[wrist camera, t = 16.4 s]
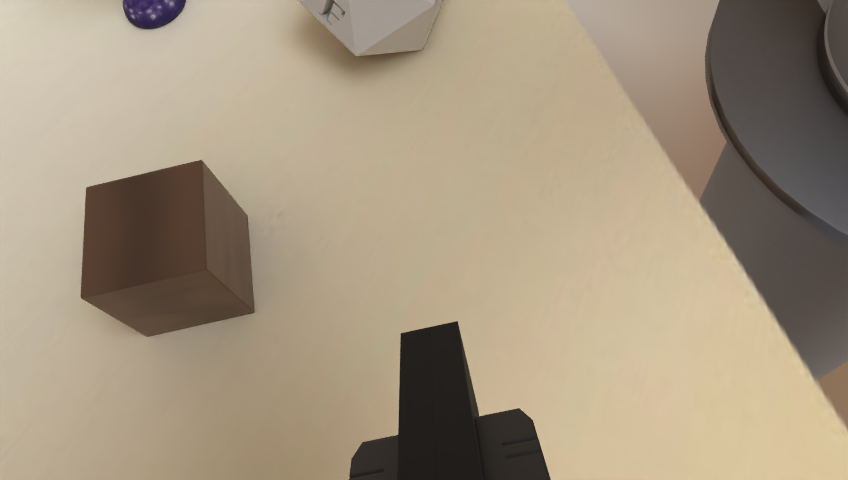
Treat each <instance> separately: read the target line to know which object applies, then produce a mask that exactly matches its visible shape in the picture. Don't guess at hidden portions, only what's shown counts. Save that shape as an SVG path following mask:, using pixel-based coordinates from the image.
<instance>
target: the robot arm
mask: <svg viewBox="0 0 848 480" xmlns="http://www.w3.org/2000/svg"><path fill="white" fill-rule="evenodd" d="M817 54H818V61H819V66H820V70H821V73H822V75H823V78H824V81H825V83H826V85H827V87H828V89H829V91H830V92H831V94H832V95H833V97H834V98H835V100H836V101H837V103H838V104H839V105H840V106H841V108H842V109H843V110H844V111H845V112H846V113H847V114H848V0H832V2H831V4H830V5H829V7H828V9H827V11H826V13H825V15H824V17H823V19H822V22H821V25H820V28H819V33H818V38H817ZM349 480H551V479H550V476H549V473H548V470H547V466H546V463H545V460H544V456H543V453H542V450H541V446H540V443H539V440H538V437H537V433H536V430H535V426H534V423H533V420H532V419H531V418H530V417H529V416H527V415H526V414H525V413H524V412H523V411H522V410H521V409H519V408H518V409H513V410H509V411H504V412H499V413H494V414H489V415H484V416H480V417H479V412H478V407H477V403H476V399H475V395H474V390H473V386H472V382H471V377H470V373H469V369H468V364H467V360H466V356H465V351H464V347H463V343H462V339H461V334H460V330H459V326H458V321H456V322H452V323H447V324H442V325H438V326H433V327H428V328H424V329H419V330H414V331H410V332H405V333H401V347H400V389H399V431H398V435H396V436H391V437H386V438H381V439H376V440H371V441H367V442H363V443H362V444H361V446H360V447H359V449H358V450H357V452H356V453H355V455H354V456H353V458H352V460H351V468H350V479H349Z"/></svg>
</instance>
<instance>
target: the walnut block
mask: <svg viewBox="0 0 848 480" xmlns="http://www.w3.org/2000/svg"><path fill="white" fill-rule="evenodd" d="M81 298H82V299H83V300H85V301H87V302H88V303H90V304H92V305H94V306H95V307H97V308H99V309H100V310H102V311H104V312H106V313H107V314H109V315H111V316H112V317H114V318H116V319H118V320H119V321H121V322H123V323H124V324H126V325H128V326H130V327H131V328H133V329H135V330H136V331H138V332H140V333H141V334H143V335H145V336H147V337H148V336H152V335H157V334H161V333H165V332H170V331H174V330H179V329H183V328H188V327H192V326H196V325H201V324H205V323H210V322H214V321H219V320H223V319H227V318H232V317H236V316H241V315H245V314H250V313H254V300H253V287H252V273H251V259H250V246H249V232H248V219H247V215H246V213H245V212H244V211H243V210H242V208H241V207H240V206H239V205H238V204H237V202H236V201H235V200H234V199H233V197H232V196H231V195H230V194H229V193H228V191H227V190H226V189H225V188H224V186H223V185H222V184H221V183H220V182H219V180H218V179H217V178H216V177H215V176H214V174H213V173H212V172H211V171H210V169H209V168H208V167H207V166H206V165H205V163H204V162H203V161H202V160H199V161H195V162H191V163H187V164H182V165H178V166H174V167H170V168H166V169H161V170H157V171H153V172H149V173H145V174H140V175H136V176H132V177H128V178H124V179H119V180H115V181H111V182H107V183H103V184H98V185H94V186H90V187H87V188H86V200H85V221H84V241H83V261H82V282H81Z"/></svg>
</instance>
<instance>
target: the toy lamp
mask: <svg viewBox="0 0 848 480" xmlns="http://www.w3.org/2000/svg"><path fill="white" fill-rule="evenodd" d="M184 4H185V0H123V8H124V11H125V14H126V16H127V18H128V20H129V21H130V22H131V23H133V24H134V25H136V26H138V27H142V28H154V27H159V26H161V25H164V24H166V23H168V22H170V21H171V20H173V19H174V18H175V17H176V16H177V15H178V14H179V13H180V11H181V10H182V8H183V7H184Z"/></svg>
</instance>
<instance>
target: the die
mask: <svg viewBox="0 0 848 480" xmlns="http://www.w3.org/2000/svg"><path fill="white" fill-rule="evenodd" d="M298 1H299V2H300V3H301V4H302V5H303V6H304V7H305V8H306V9H307V10H308V11H309V12H310V13H311V14H312V15H313V16H315V17H316V18H317V19H318V20H319V21H320V22H321V23H322V24H323V25H324V26H325V27H326V28H327V29H328V30H329V31H330V32H331V33H332V34H333V35H334V36H335V37H336V38H337V39H338V40H340V41H341V42H342V43H343V44H344V45H345V46H346V47H347V48H348V49H349V50H350V51H351V52H352V53H353V54H354V55H355V56H364V55H374V54H385V53H395V52H406V51H416V50H423V48H424V46H425V43H426V41H427V38H428V36H429V34H430V31H431V29H432V26H433V24H434V22H435V19H436V17H437V14H438V12H439V9H440V7H441V5H442V2H443V0H298Z"/></svg>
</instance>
